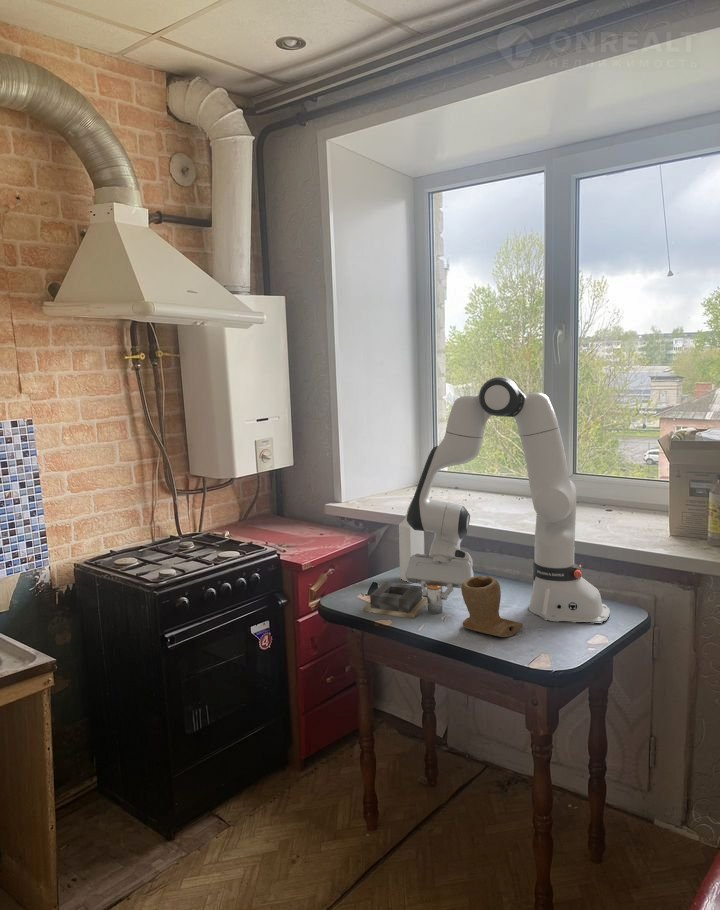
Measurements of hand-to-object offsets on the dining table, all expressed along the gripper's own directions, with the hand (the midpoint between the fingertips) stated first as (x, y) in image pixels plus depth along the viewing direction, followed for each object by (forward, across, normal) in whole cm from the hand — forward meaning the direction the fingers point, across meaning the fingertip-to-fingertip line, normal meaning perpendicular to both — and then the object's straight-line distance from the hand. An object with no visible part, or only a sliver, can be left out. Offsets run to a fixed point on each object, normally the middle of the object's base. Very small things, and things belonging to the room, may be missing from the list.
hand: (434, 598), depth 199 cm
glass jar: (+3, 0, +4) cm, 4 cm away
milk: (-15, -16, +21) cm, 31 cm away
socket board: (+3, -12, +4) cm, 13 cm away
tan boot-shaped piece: (+9, +18, -3) cm, 20 cm away
